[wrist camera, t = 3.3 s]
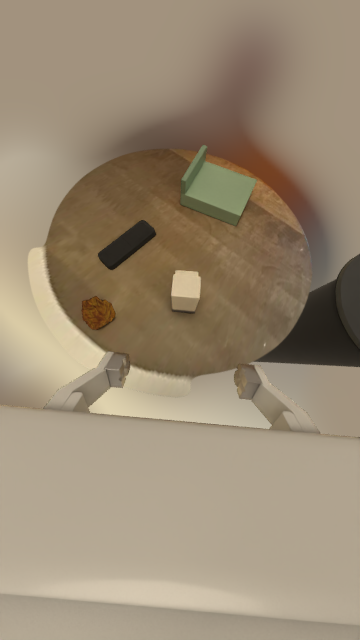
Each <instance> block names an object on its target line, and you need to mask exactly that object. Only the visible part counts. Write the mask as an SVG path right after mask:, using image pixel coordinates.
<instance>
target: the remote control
mask: <svg viewBox="0 0 360 640" xmlns="http://www.w3.org/2000/svg"><path fill="white" fill-rule="evenodd" d="M155 235H156V232H155V230H154V228H153V227H152V226H150V225H149V224H148V223H147V222H146V221H144V220H141V221H139V222H138V223H137V224H136V225H134V226H133V227H132V228H130V229H129V230H128V231H126V232H125V233H124V234H123V235H121V236H120V237H119V238H117V239H116V240H115V241H113V242H112V243H111V244H110V245H108V246H107V247H106V248H104V249H103V250H102V251H100V252H99V253H98V257H99V259H100V260H101V262H102V263H103V264H104V265H105V266H106V267H107V268H108V269H110V270H113V269H115V268H116V267H117V266H118V265H120V264H121V263H122V262H123V261H124V260H126V259H127V258H128V257H129V256H131V255H132V254H133V253H134V252H136V251H137V250H138V249H139V248H140V247H142V246H143V245H144V244H145V243H147V242H148V241H149V240H150V239H152V238H153V237H154V236H155Z"/></svg>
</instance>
